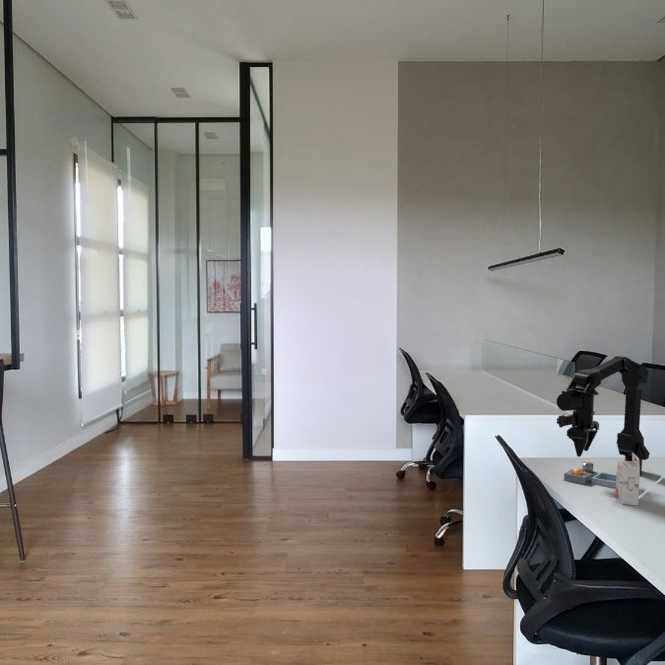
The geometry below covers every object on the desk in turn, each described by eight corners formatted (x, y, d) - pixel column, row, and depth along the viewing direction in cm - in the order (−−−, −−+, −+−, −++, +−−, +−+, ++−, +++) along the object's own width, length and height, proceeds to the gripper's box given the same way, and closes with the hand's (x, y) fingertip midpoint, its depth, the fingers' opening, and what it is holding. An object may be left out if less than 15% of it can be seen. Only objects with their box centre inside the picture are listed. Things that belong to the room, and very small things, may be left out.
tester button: (575, 474, 211) (575, 467, 211) (584, 476, 209) (584, 469, 209) (572, 476, 209) (572, 469, 209) (581, 478, 207) (581, 471, 207)
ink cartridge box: (614, 495, 196) (616, 450, 195) (631, 496, 195) (633, 451, 194) (621, 504, 187) (623, 457, 186) (638, 506, 186) (641, 458, 185)
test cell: (584, 472, 219) (584, 460, 219) (594, 474, 217) (594, 462, 216) (580, 474, 216) (581, 462, 216) (590, 476, 214) (591, 464, 214)
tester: (578, 471, 221) (579, 463, 221) (601, 476, 216) (602, 468, 216) (562, 481, 209) (562, 473, 209) (586, 487, 204) (586, 478, 204)
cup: (600, 478, 213) (600, 471, 213) (628, 484, 207) (629, 477, 207) (591, 485, 206) (591, 477, 206) (620, 491, 200) (620, 483, 200)
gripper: (567, 401, 219) (565, 444, 220) (551, 409, 204) (550, 455, 205) (600, 405, 212) (598, 449, 213) (586, 413, 197) (584, 461, 198)
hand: (582, 453), depth 207 cm, fingers open, 9 cm apart
